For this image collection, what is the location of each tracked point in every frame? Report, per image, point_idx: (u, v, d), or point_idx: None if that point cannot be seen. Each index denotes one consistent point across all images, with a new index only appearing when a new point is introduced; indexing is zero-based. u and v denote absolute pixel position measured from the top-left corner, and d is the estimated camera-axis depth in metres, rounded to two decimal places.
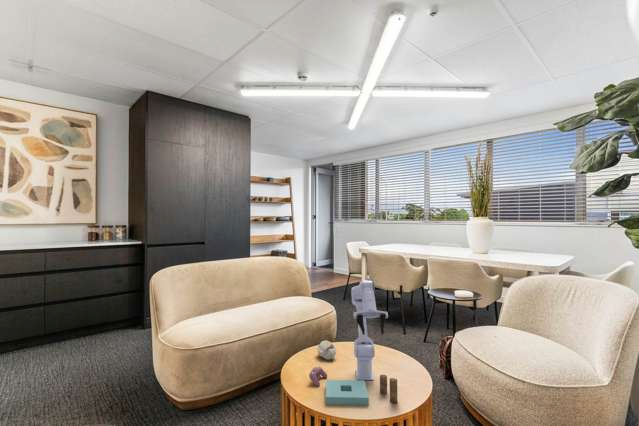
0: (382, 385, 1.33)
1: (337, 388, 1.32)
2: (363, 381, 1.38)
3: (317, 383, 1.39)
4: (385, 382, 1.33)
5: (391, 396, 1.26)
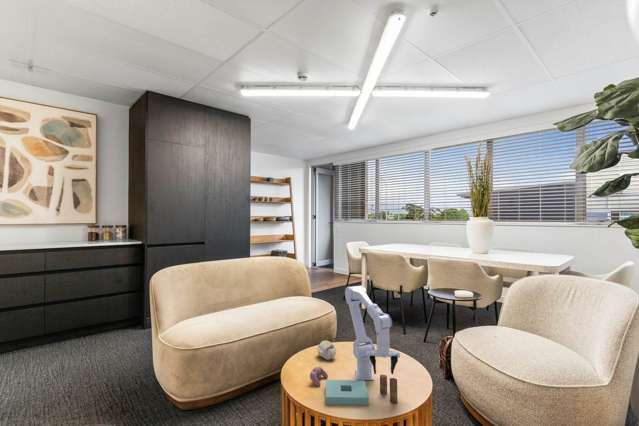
0: (382, 385, 1.33)
1: (337, 388, 1.32)
2: (363, 381, 1.38)
3: (318, 383, 1.39)
4: (385, 382, 1.33)
5: (391, 396, 1.26)
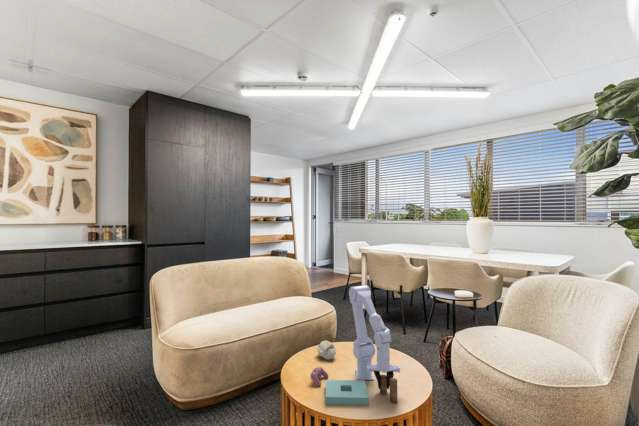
0: (382, 385, 1.33)
1: (337, 388, 1.32)
2: (363, 381, 1.38)
3: (318, 383, 1.39)
4: (385, 382, 1.33)
5: (391, 396, 1.26)
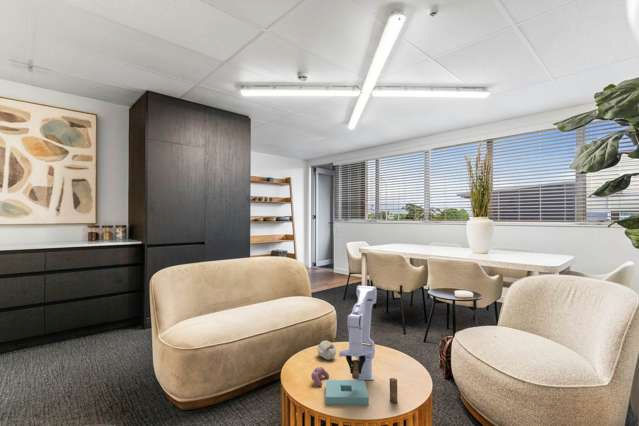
0: (354, 370, 1.31)
1: (337, 388, 1.32)
2: (363, 381, 1.38)
3: (319, 383, 1.39)
4: (357, 367, 1.31)
5: (391, 396, 1.26)
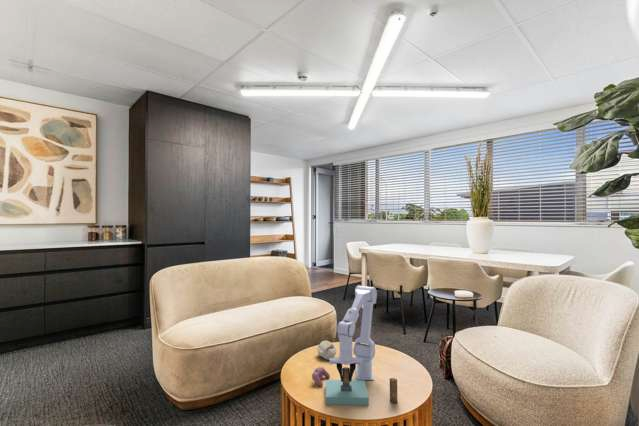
0: (344, 377, 1.31)
1: (337, 388, 1.32)
2: (363, 381, 1.38)
3: (320, 383, 1.39)
4: (348, 375, 1.31)
5: (391, 396, 1.26)
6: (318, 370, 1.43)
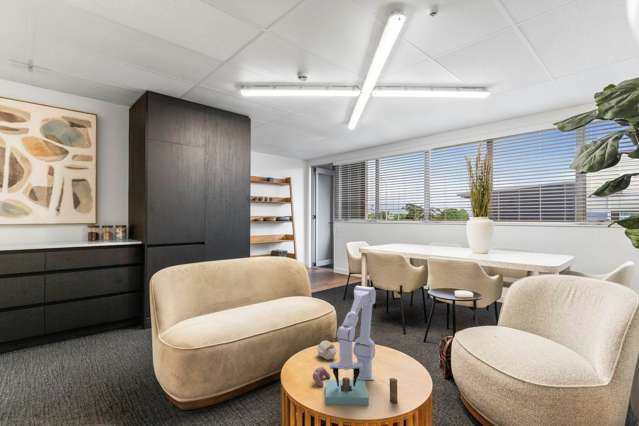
0: (344, 388, 1.31)
1: (337, 388, 1.32)
2: (363, 381, 1.38)
3: (320, 384, 1.39)
4: (348, 385, 1.31)
5: (391, 396, 1.26)
6: (319, 370, 1.43)
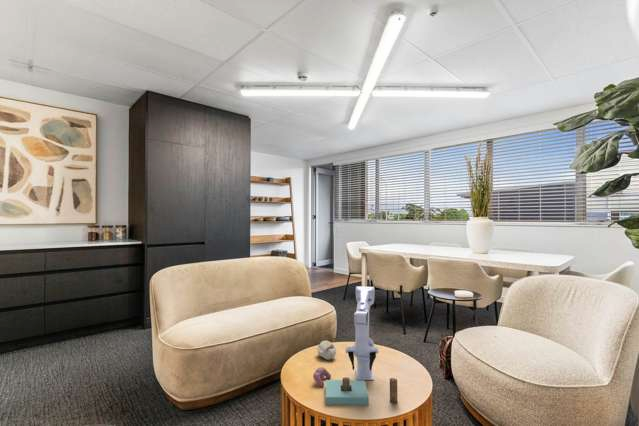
0: (344, 388, 1.31)
1: (337, 388, 1.32)
2: (363, 381, 1.38)
3: (321, 384, 1.39)
4: (348, 385, 1.31)
5: (391, 396, 1.26)
6: (319, 370, 1.43)
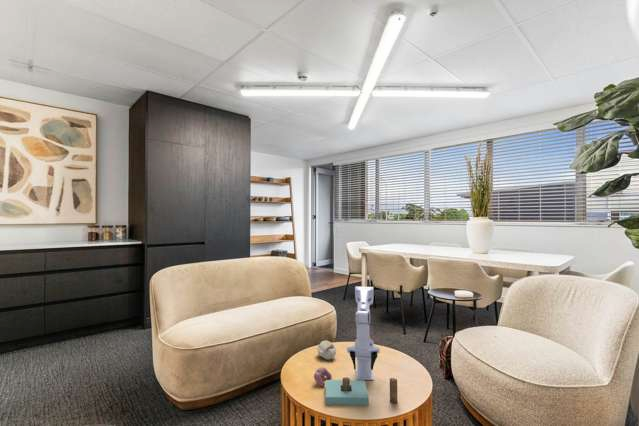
0: (344, 388, 1.31)
1: (337, 388, 1.32)
2: (363, 381, 1.38)
3: (322, 384, 1.38)
4: (348, 385, 1.31)
5: (391, 396, 1.26)
6: (320, 370, 1.43)
